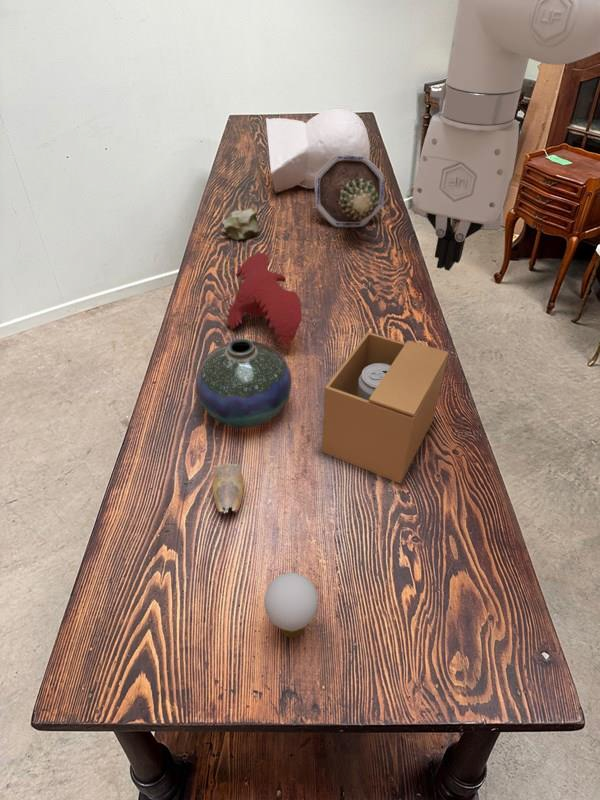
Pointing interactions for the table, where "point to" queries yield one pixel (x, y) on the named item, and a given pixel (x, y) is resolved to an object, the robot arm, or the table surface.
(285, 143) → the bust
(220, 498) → the shell
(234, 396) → the vase
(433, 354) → the flap
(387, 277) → the table surface
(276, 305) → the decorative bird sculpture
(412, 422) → the carton
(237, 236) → the greenish rock
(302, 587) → the light bulb
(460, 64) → the robot arm
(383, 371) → the beverage can
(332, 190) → the potted plant
